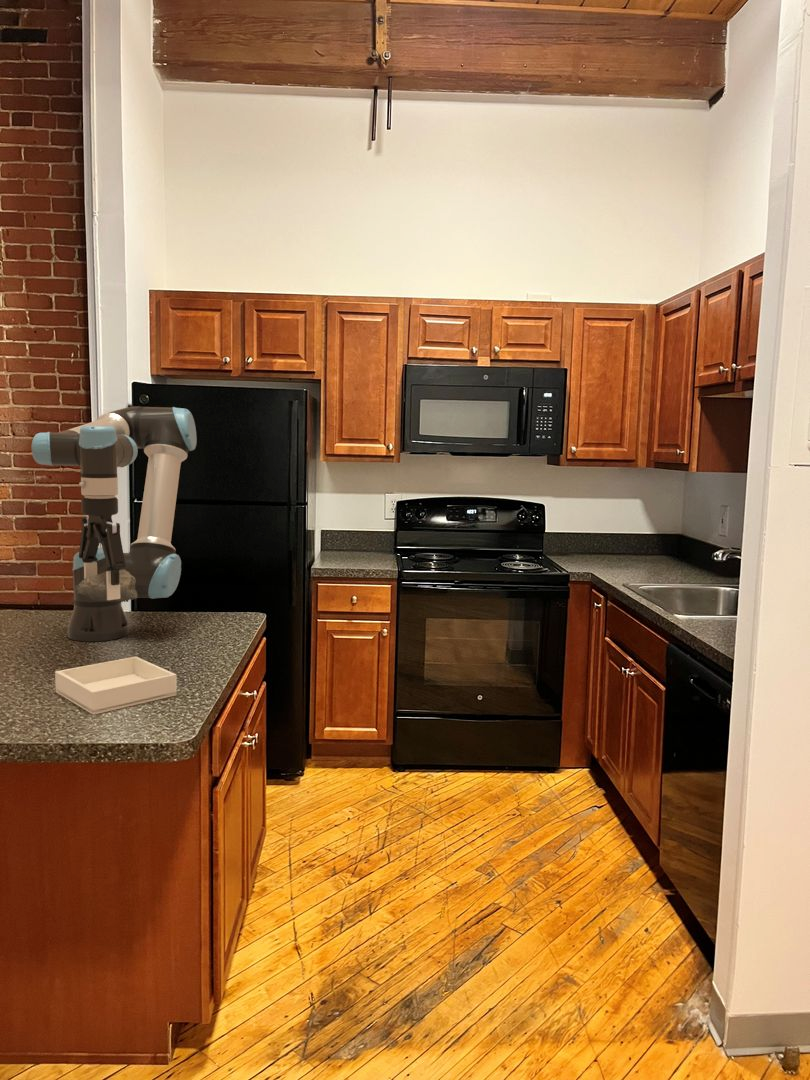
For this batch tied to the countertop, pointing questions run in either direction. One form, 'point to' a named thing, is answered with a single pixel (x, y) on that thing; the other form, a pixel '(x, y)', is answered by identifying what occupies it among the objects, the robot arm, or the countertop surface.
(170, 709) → the countertop surface
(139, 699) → the dish
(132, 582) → the rock
